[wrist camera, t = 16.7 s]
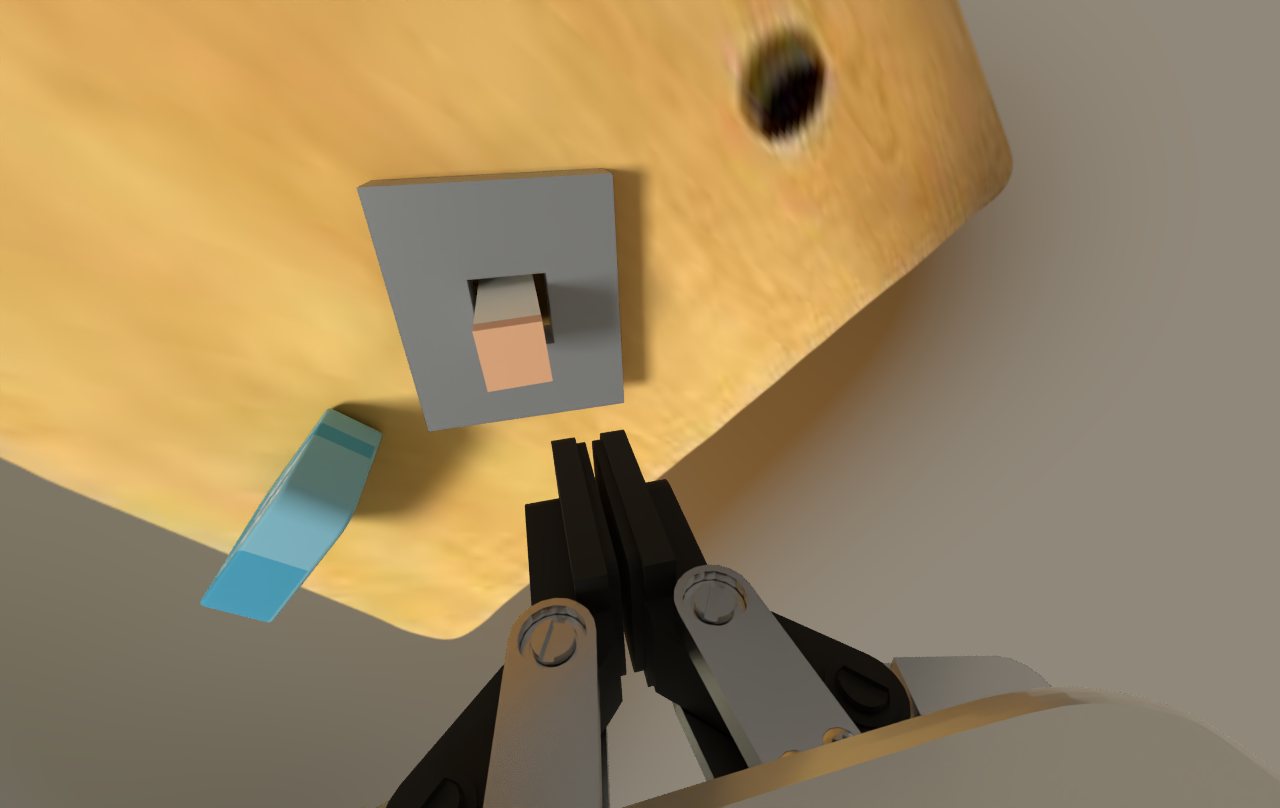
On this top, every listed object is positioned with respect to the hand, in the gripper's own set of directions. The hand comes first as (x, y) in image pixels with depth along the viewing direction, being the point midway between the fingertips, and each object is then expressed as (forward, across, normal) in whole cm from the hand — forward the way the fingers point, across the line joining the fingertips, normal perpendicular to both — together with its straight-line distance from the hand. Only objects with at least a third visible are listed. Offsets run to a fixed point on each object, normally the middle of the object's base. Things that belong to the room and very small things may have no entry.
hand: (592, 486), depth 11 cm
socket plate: (+31, +2, +5) cm, 31 cm away
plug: (+31, +2, +5) cm, 31 cm away
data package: (+31, +20, +18) cm, 41 cm away
